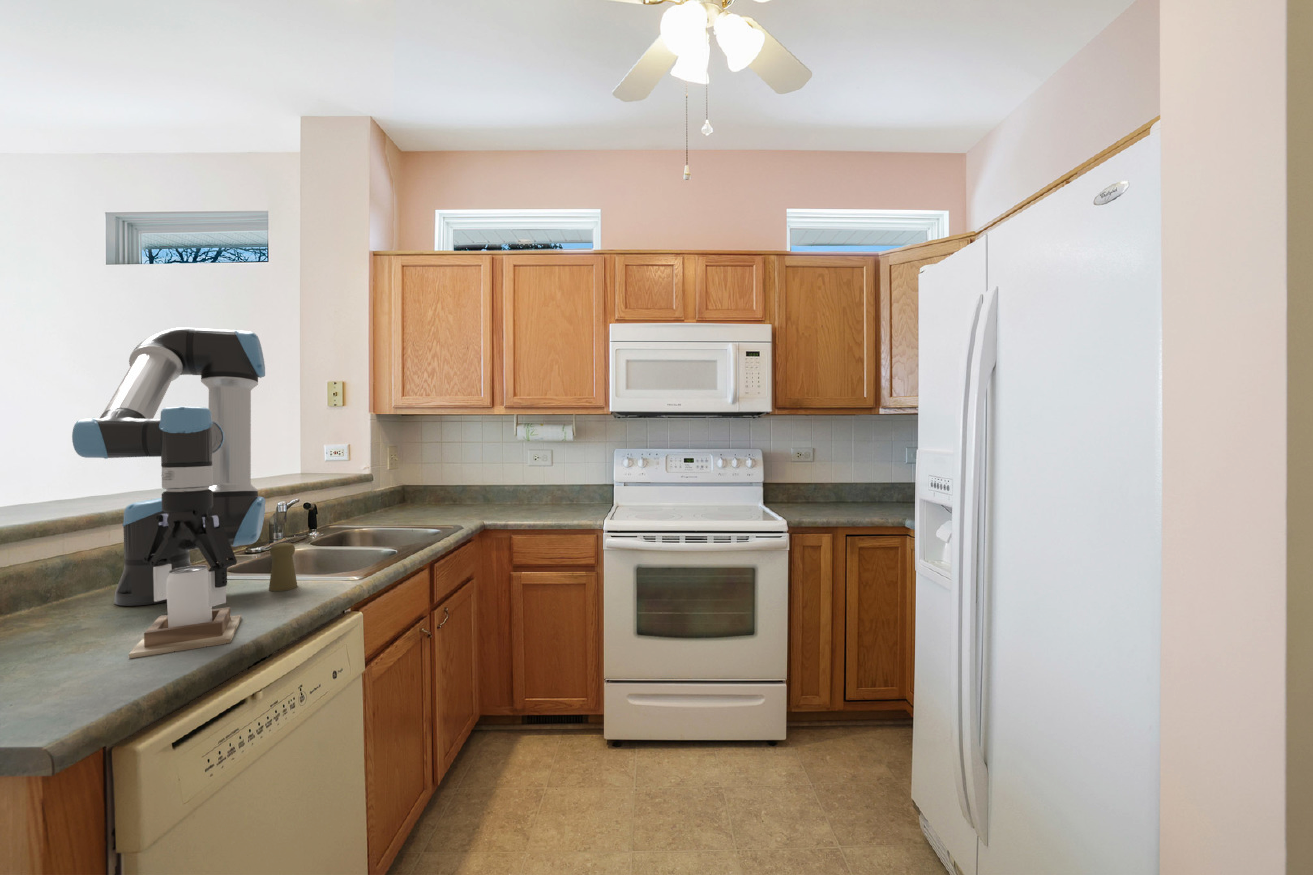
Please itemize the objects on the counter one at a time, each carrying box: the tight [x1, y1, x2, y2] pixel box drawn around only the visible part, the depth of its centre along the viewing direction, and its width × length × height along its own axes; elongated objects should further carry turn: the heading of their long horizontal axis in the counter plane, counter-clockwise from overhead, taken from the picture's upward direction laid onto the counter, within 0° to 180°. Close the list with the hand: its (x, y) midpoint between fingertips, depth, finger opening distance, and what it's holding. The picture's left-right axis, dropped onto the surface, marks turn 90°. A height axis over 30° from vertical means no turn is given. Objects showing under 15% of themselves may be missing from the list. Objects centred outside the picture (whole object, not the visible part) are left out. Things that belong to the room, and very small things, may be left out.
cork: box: [268, 542, 298, 592], centre depth 144 cm, size 6×6×11 cm
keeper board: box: [128, 606, 242, 659], centre depth 110 cm, size 16×14×3 cm
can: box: [166, 564, 213, 628], centre depth 109 cm, size 6×6×12 cm
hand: (189, 602), depth 110 cm, fingers open, 13 cm apart
